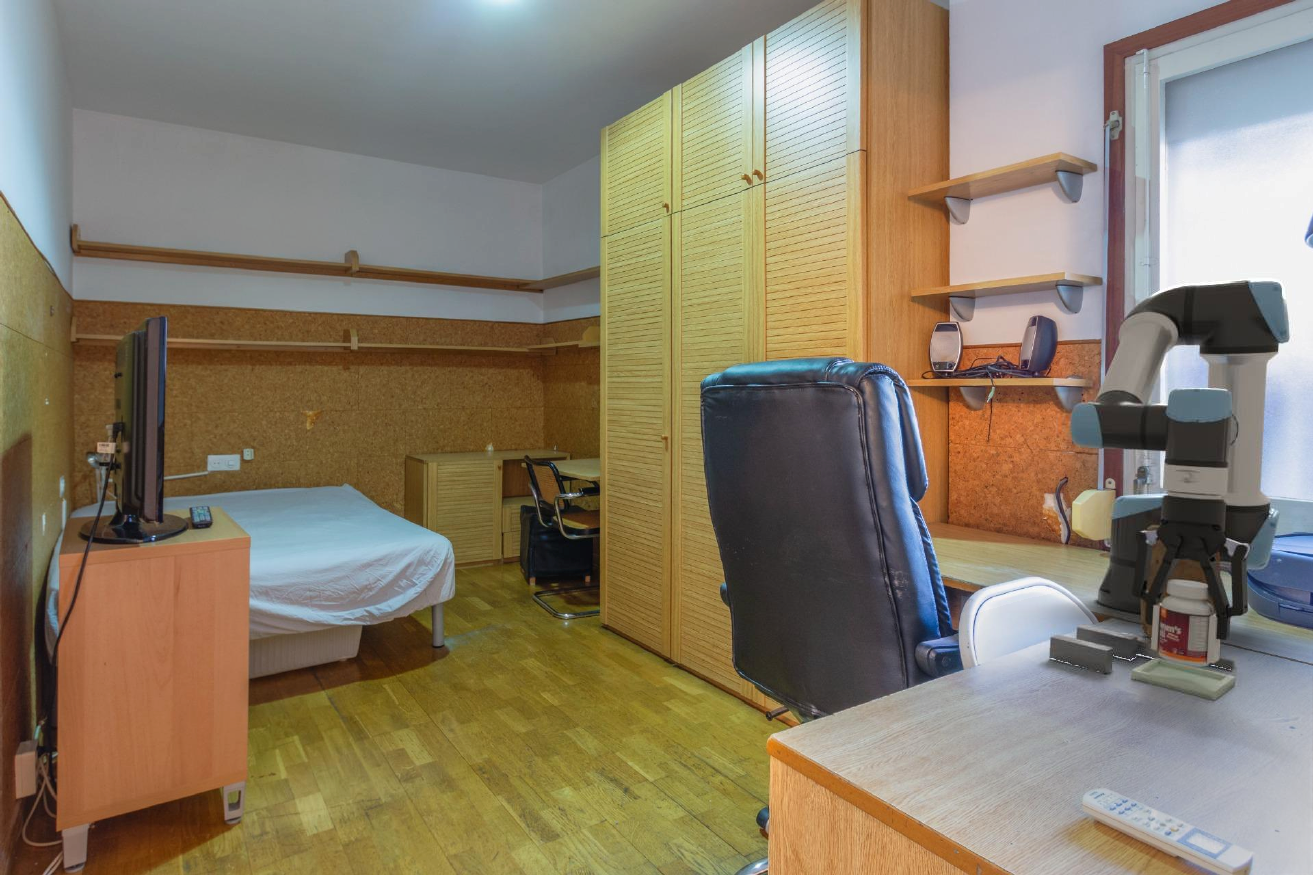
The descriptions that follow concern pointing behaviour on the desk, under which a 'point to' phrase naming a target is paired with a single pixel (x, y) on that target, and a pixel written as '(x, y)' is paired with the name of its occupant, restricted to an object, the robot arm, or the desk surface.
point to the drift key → (1146, 647)
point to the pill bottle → (1185, 623)
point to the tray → (1184, 678)
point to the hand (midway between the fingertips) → (1184, 653)
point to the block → (1182, 571)
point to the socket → (1093, 648)
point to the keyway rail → (1224, 663)
